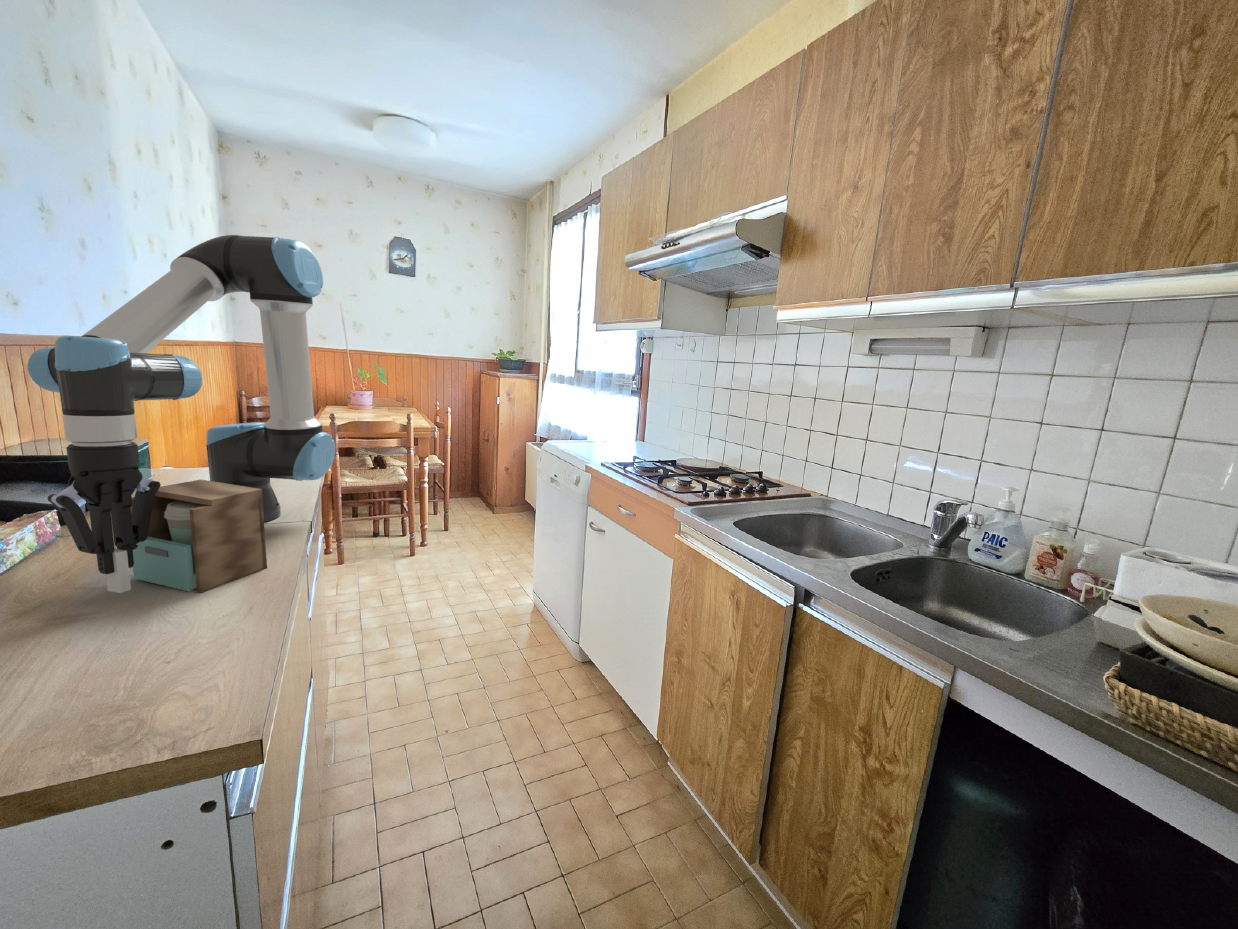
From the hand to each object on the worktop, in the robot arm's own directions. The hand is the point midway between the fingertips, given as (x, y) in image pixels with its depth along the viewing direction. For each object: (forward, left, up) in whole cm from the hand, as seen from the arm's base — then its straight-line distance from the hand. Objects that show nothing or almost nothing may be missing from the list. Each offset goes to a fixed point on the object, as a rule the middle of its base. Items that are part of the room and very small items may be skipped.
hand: (119, 589), depth 79 cm
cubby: (-13, 0, -2) cm, 13 cm away
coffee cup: (-12, 0, -1) cm, 12 cm away
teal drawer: (-12, 0, -2) cm, 12 cm away
